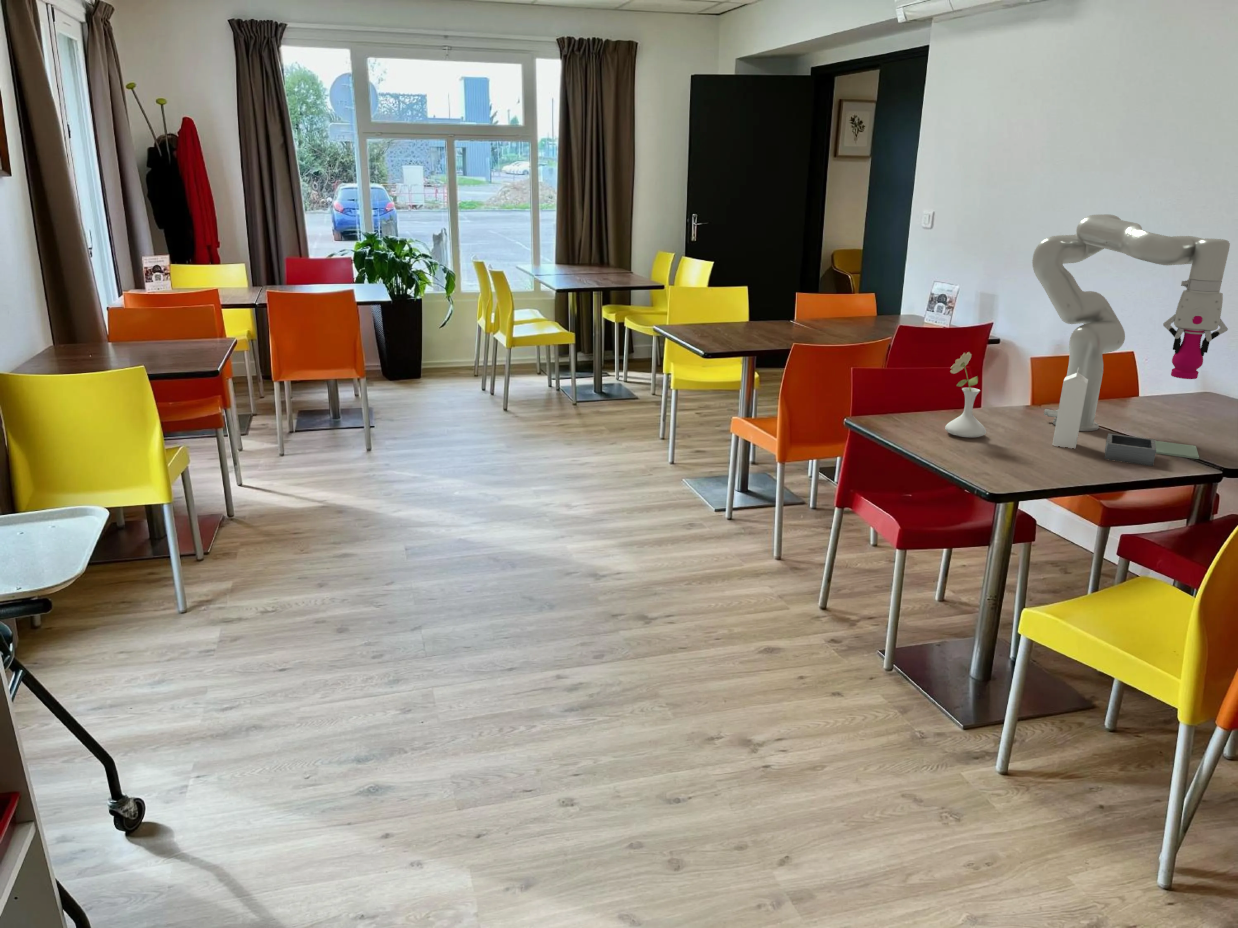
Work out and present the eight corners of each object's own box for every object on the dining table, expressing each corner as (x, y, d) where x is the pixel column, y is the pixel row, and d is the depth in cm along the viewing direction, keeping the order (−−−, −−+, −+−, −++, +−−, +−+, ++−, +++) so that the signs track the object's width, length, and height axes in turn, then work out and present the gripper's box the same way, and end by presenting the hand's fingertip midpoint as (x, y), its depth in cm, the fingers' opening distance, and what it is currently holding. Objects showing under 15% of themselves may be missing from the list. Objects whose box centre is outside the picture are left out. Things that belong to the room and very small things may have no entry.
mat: (1140, 451, 247) (1140, 449, 247) (1139, 440, 257) (1139, 438, 257) (1198, 459, 241) (1199, 457, 241) (1195, 447, 251) (1195, 445, 251)
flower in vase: (968, 428, 267) (979, 346, 259) (993, 439, 257) (1007, 354, 249) (931, 431, 263) (942, 348, 256) (956, 442, 253) (968, 356, 245)
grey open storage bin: (1104, 459, 240) (1107, 443, 238) (1105, 448, 249) (1108, 433, 248) (1152, 466, 235) (1156, 450, 233) (1151, 454, 244) (1154, 439, 243)
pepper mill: (1203, 380, 239) (1220, 306, 232) (1174, 378, 240) (1190, 305, 234) (1193, 374, 245) (1209, 302, 239) (1164, 373, 247) (1179, 301, 240)
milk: (1076, 444, 254) (1091, 368, 247) (1075, 449, 249) (1090, 372, 242) (1053, 440, 256) (1067, 366, 249) (1051, 445, 251) (1065, 369, 244)
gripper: (1167, 285, 236) (1153, 353, 241) (1243, 290, 228) (1227, 359, 234) (1165, 283, 242) (1152, 348, 248) (1240, 287, 234) (1224, 355, 240)
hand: (1189, 353), depth 241 cm, fingers closed on pepper mill, 5 cm apart
